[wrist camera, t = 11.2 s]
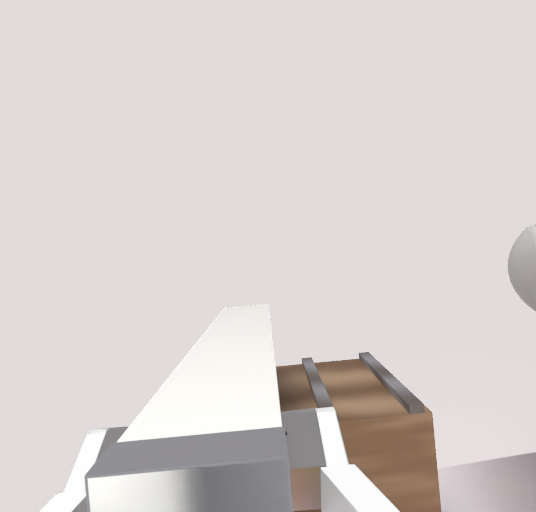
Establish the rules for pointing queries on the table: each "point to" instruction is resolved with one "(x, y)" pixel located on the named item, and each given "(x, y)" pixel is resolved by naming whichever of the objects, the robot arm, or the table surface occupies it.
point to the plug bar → (205, 431)
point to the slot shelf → (372, 425)
